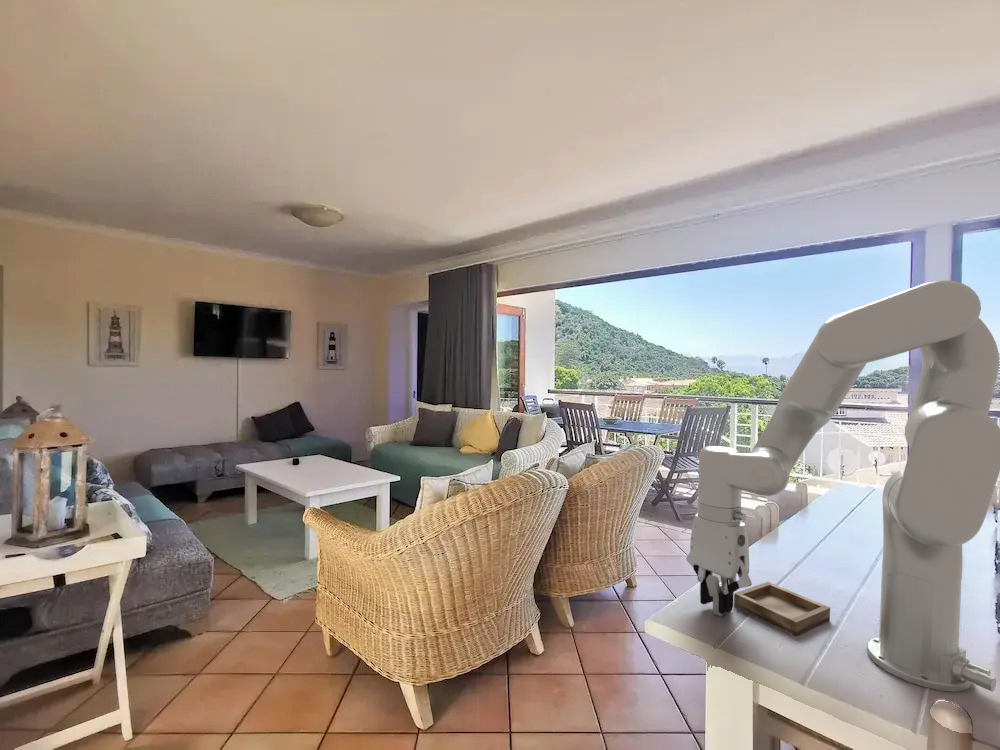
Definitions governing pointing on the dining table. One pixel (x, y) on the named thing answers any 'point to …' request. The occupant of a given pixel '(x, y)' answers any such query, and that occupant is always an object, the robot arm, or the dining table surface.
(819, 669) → the dining table surface
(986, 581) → the dining table surface
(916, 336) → the robot arm
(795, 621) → the tray
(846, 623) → the dining table surface
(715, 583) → the lighter
